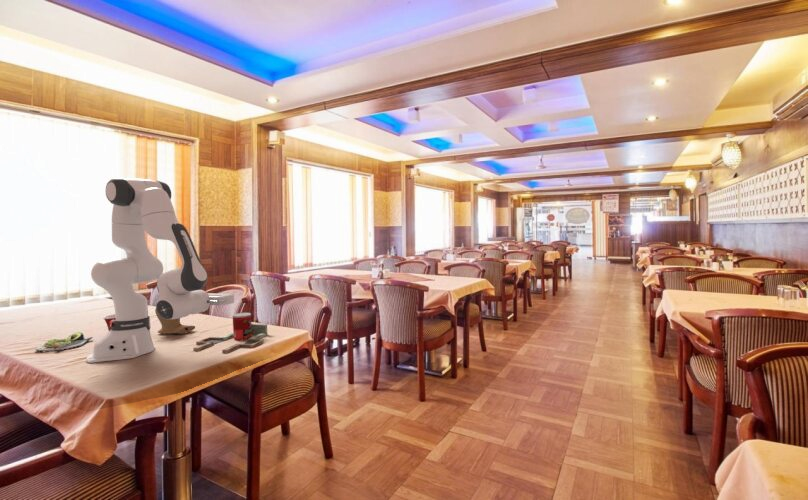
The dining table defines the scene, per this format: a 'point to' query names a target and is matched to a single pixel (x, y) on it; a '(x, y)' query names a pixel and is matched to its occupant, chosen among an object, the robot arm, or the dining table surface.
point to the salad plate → (65, 342)
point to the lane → (257, 330)
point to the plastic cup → (108, 319)
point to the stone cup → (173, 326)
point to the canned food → (242, 326)
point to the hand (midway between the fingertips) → (222, 295)
